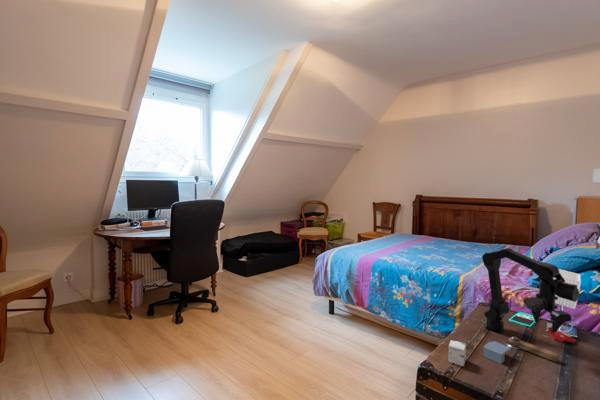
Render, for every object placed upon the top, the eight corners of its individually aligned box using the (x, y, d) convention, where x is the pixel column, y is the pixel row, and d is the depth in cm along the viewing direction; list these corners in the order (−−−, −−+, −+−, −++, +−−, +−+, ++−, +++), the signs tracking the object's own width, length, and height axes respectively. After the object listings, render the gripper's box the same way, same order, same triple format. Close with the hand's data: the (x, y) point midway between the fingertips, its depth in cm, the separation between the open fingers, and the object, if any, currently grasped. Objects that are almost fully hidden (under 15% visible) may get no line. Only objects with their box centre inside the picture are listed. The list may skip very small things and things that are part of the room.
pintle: (502, 344, 146) (502, 336, 145) (509, 340, 149) (510, 332, 149) (519, 351, 140) (519, 343, 139) (526, 346, 143) (526, 338, 143)
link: (507, 343, 145) (507, 339, 145) (511, 340, 147) (511, 336, 147) (555, 362, 130) (555, 357, 130) (559, 359, 132) (559, 354, 132)
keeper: (480, 354, 138) (480, 345, 137) (490, 348, 142) (490, 339, 142) (500, 363, 131) (501, 354, 130) (511, 357, 135) (511, 347, 135)
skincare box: (448, 362, 133) (448, 345, 132) (450, 355, 138) (450, 339, 137) (464, 367, 129) (464, 349, 129) (465, 359, 134) (466, 343, 134)
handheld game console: (540, 319, 171) (540, 317, 171) (530, 328, 161) (530, 325, 161) (519, 313, 179) (519, 311, 179) (508, 321, 169) (508, 319, 169)
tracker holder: (579, 338, 147) (572, 340, 142) (575, 347, 148) (568, 348, 142) (550, 323, 157) (542, 324, 152) (546, 331, 158) (538, 332, 152)
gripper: (514, 286, 147) (512, 317, 148) (548, 302, 128) (545, 339, 130) (536, 285, 148) (534, 316, 149) (573, 301, 129) (570, 337, 131)
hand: (544, 326), depth 140 cm, fingers open, 9 cm apart
